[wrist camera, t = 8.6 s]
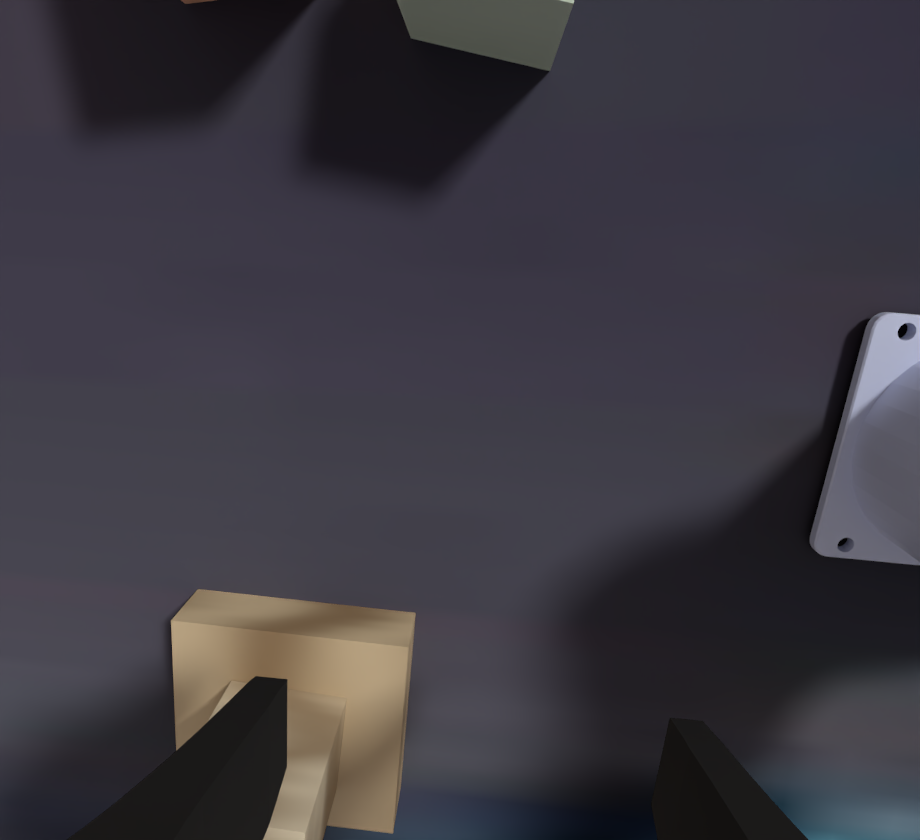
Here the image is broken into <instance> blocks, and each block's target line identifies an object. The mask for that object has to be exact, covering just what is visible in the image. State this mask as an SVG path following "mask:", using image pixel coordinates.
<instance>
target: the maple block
mask: <svg viewBox="0 0 920 840" xmlns="http://www.w3.org/2000/svg"><path fill="white" fill-rule="evenodd" d="M246 684H247V683H244V682H237V681H231V682H230V684H229V686H228V687H227V689H226V691H225V693H224V694H223V696H222V698H221V699H220V701H219V703H218V705H217V706H216V708H215V710H214V711H213V713H212V715H211V716H210V718H209V720H210V719H211V718H212V717H213V716H214V715H215V714H216V713H217V712H218V711H219V710H220V709H221V708H222V707H223V706H224V705H226V704H227V703H228V702H229V701H230V700H231V699H232V698H233V697H234V696H235V695H236V694H237V693H238V692H239V691H240V690H241V689H242V688H243V687H244V686H245V685H246ZM346 702H347V698H343V697H336V696H330V695H323V694H316V693H310V692H303V691H297V690H290V689H287V768H286V772H285V775H284V778H283V782H282V785H281V788H280V792H279V795H278V798H277V802H276V805H275V808H274V811H273V814H272V817H271V821H270V824H269V826H268V829H267V831H266V834H265V836H264V839H263V840H323V837H324V834H325V830H326V826H327V823H328V819H329V815H330V812H331V808H332V805H333V801H334V797H335V794H336V790H337V782H338V773H339V764H340V755H341V746H342V738H343V729H344V720H345V711H346ZM209 720H208V721H209Z"/></svg>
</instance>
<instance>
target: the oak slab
mask: <svg viewBox="0 0 920 840" xmlns="http://www.w3.org/2000/svg"><path fill="white" fill-rule="evenodd" d="M415 615H416V613H412V612H402V611H393V610H384V609H375V608H366V607H357V606H348V605H338V604H329V603H320V602H311V601H302V600H293V599H283V598H274V597H265V596H256V595H247V594H238V593H229V592H219V591H210V590H201V589H198V590H197V591H196V592H195V593H194V594H193V595H192V597H191V598H190V599H189V600H188V601H187V602H186V604H185V605H184V606H183V607H182V608H181V609H180V611H179V612H178V613H177V614H176V615H175V616H174V618H173V619H172V620H171V632H172V657H173V682H174V707H175V733H176V751H177V750H178V749H179V748H180V747H181V746H182V745H183V744H184V743H185V742H186V741H188V740H189V739H190V738H191V737H192V736H193V735H194V734H195V733H196V732H197V731H198V730H200V729H201V728H202V727H203V726H204V725H205V724H206V723H207V722H208V720H209V718H210V716H211V715H212V713H213V711H214V710H215V708H216V706H217V705H218V703H219V701H220V699H221V698H222V696H223V694H224V693H225V691H226V689H227V687H228V686H229V684H230V682H231V681H237V682H244V683H248V682H249V681H250V680H251V679H253V678H254V677H255V676H260V677H270V678H280V679H287V689H290V690H297V691H303V692H310V693H316V694H323V695H330V696H336V697H343V698H347V702H346V711H345V720H344V729H343V738H342V746H341V755H340V764H339V773H338V782H337V790H336V794H335V797H334V801H333V805H332V808H331V812H330V815H329V819H328V823H327V826H335V827H343V828H352V829H360V830H369V831H377V832H385V833H393V830H394V824H395V818H396V812H397V806H398V800H399V794H400V788H401V777H402V766H403V754H404V742H405V731H406V719H407V708H408V696H409V684H410V673H411V661H412V650H413V638H414V626H415Z"/></svg>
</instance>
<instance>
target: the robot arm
mask: <svg viewBox="0 0 920 840" xmlns="http://www.w3.org/2000/svg"><path fill="white" fill-rule="evenodd" d="M905 323H906V325H907V332H906V334H905V335H904V336H903V337H901V338H899V337H898V330H899V328H900V326H902V325H903V324H905ZM843 538H847V541H846V543H845V544H844V545H842V546H838V543H839V541H840V540H841V539H843ZM809 543H810V545H811V547H812V548H813V549H814V550H815V551H816V552H817V553H819V554H820V555H823V556H826V557H837V558H847V559H858V560H868V561H879V562H889V563H900V564H910V565H920V315H915V314H904V313H892V312H883V313H879V314H877V315H875V316H873V317H872V318H871V319H870V320H869V322H868V324H867V326H866V329H865V332H864V336H863V340H862V344H861V347H860V351H859V355H858V359H857V362H856V366H855V370H854V373H853V377H852V381H851V385H850V388H849V392H848V396H847V400H846V403H845V407H844V411H843V415H842V418H841V422H840V426H839V430H838V433H837V437H836V441H835V444H834V448H833V452H832V456H831V459H830V463H829V467H828V471H827V474H826V478H825V482H824V486H823V489H822V493H821V497H820V501H819V504H818V508H817V512H816V516H815V519H814V523H813V527H812V530H811V534H810V542H809ZM286 768H287V679H280V678H270V677H260V676H255V677H254V678H253V679H251V680H250V681H249V682H248V683H247V684H246V685H245V686H244V687H243V688H242V689H241V690H240V691H239V692H238V693H237V694H236V695H235V696H234V697H233V698H232V699H231V700H230V701H229V702H228V703H227V704H226V705H224V706H223V707H222V708H221V709H220V710H219V711H218V712H217V713H216V714H215V715H214V716H213V717H212V718H211V719H210V720H209V721H208V722H207V723H206V724H205V725H204V726H203V727H202V728H201V729H200V730H198V731H197V732H196V733H195V734H194V735H193V736H192V737H191V738H190V739H189V740H188V741H186V742H185V743H184V744H183V745H182V746H181V747H180V748H179V749H178V750H177V751H176V752H174V753H173V754H172V755H171V756H170V757H169V758H168V759H167V760H166V761H165V762H163V763H162V764H161V765H160V766H159V767H158V768H156V769H155V770H154V771H153V772H152V773H151V774H149V775H148V776H147V777H146V778H145V779H143V780H142V781H141V782H140V783H139V784H137V785H136V786H135V787H134V788H133V789H131V790H130V791H129V792H128V793H127V794H126V795H124V796H123V797H122V798H121V799H120V800H118V801H117V802H116V803H115V804H113V805H112V806H111V807H110V808H108V809H107V810H106V811H104V812H103V813H102V814H101V815H99V816H98V817H97V818H95V819H94V820H93V821H91V822H90V823H89V824H88V825H86V826H85V827H84V828H82V829H81V830H79V831H78V832H77V833H75V834H74V835H73V836H71V837H70V838H69V839H67V840H263V839H264V836H265V834H266V831H267V829H268V826H269V824H270V821H271V817H272V814H273V811H274V808H275V805H276V802H277V798H278V795H279V792H280V788H281V785H282V782H283V778H284V775H285V772H286ZM651 806H652V811H653V817H654V822H655V828H656V833H657V839H658V840H808V839H807V838H806V837H805V836H804V835H803V834H802V832H801V831H800V830H799V829H798V828H797V827H796V826H795V825H794V824H793V823H792V822H791V821H790V820H789V819H788V817H787V816H786V815H785V814H784V813H783V812H782V811H781V810H780V809H779V808H778V806H777V805H776V804H775V803H774V802H773V801H772V800H771V799H770V798H769V796H768V795H767V794H766V793H765V792H764V791H763V790H762V789H761V787H760V786H759V785H758V784H757V783H756V782H755V781H754V779H753V778H752V777H751V776H750V775H749V774H748V773H747V771H746V770H745V769H744V768H743V767H742V766H741V765H740V763H739V762H738V761H737V760H736V759H735V758H734V756H733V755H732V754H731V753H730V752H729V751H728V749H727V748H726V747H725V746H724V745H723V744H722V742H721V741H720V740H719V739H718V738H717V737H716V735H715V734H714V733H713V732H712V731H711V730H710V729H709V728H708V726H707V725H706V724H705V723H704V722H703V721H696V720H686V719H676V718H670V720H669V724H668V729H667V734H666V738H665V743H664V747H663V752H662V757H661V761H660V766H659V770H658V775H657V780H656V784H655V789H654V794H653V798H652V803H651Z"/></svg>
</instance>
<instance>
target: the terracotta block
mask: <svg viewBox="0 0 920 840" xmlns="http://www.w3.org/2000/svg"><path fill="white" fill-rule="evenodd" d="M181 1H182V2H183V3H185V4H191V3H199V2H207V1H215V0H181Z"/></svg>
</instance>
